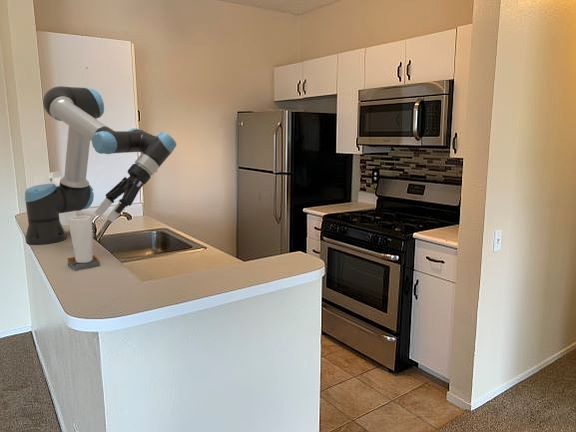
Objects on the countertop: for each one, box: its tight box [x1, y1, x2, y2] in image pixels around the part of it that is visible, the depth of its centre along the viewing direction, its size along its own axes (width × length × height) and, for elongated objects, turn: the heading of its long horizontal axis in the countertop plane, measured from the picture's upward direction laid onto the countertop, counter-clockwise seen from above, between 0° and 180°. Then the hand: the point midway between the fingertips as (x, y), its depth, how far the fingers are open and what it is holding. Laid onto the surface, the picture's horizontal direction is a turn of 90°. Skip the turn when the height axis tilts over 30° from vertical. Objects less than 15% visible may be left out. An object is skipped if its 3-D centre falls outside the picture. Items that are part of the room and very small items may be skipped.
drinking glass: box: [68, 215, 94, 263], centre depth 153 cm, size 7×7×15 cm
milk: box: [44, 171, 78, 226], centre depth 230 cm, size 12×12×26 cm
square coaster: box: [66, 254, 101, 271], centre depth 154 cm, size 8×8×2 cm
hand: (102, 217), depth 156 cm, fingers open, 13 cm apart
